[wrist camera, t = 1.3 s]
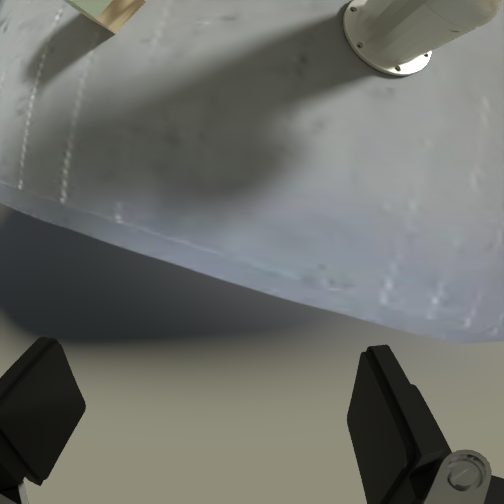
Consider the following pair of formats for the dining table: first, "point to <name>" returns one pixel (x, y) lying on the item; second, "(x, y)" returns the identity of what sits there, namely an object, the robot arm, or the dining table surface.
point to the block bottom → (116, 14)
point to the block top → (90, 6)
